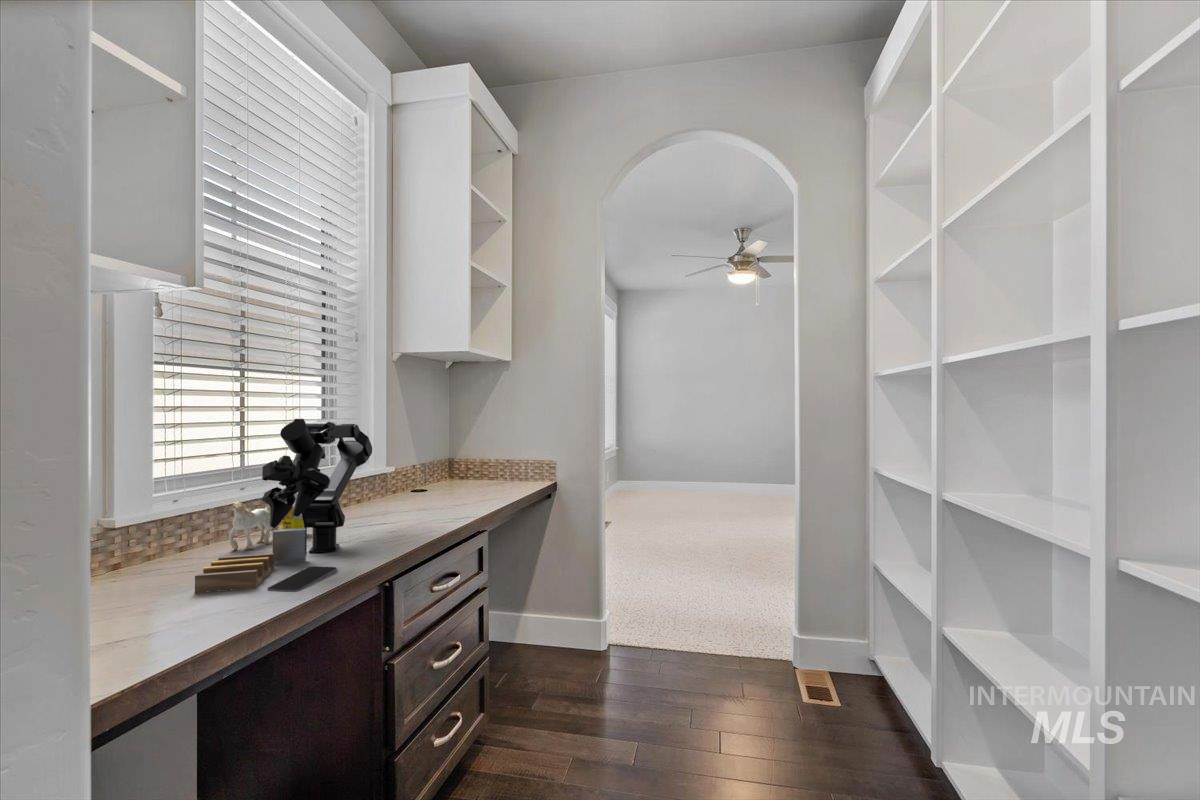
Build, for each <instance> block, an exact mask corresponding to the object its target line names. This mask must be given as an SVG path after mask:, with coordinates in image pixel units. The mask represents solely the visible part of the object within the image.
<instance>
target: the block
mask: <svg viewBox="0 0 1200 800" xmlns="http://www.w3.org/2000/svg"><path fill="white" fill-rule="evenodd" d="M307 532H308V528H302V529H284V530H281V529H278V530H274V531H273V532H272V553H274V566H279V565H292V564H295V565H296V564H305V563H306V562H307V561H308V560H307V551H308V550H307V548H308V547H307V544H308V543H307V541H308V540H307V535H308V534H307Z"/></svg>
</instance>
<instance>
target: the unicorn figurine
mask: <svg viewBox="0 0 1200 800" xmlns="http://www.w3.org/2000/svg"><path fill="white" fill-rule="evenodd" d="M246 505H247V504H244V502H243V501H242V502H240V501H235V502H233V504H232V511H234V518H233V520H232V526H233V527H232V529H231V531H230V533H229V535H228V539H229V542H230V544H229V545H230V546H231V549H232V550H233V551H236V550H238V549H239V545H238V541H237V540H236V539H234V536H235V534H236V533H237V532H238V531H239V530H243V531H244V533H245V539H246V540H247V541H246V543H247V544H246V546H245V548H244V551H249V550H251V548H252V547H253V541H252V540H251V535H250V532H249V529H252V528H255V527H258V528H259V530H260V537H259V538H258V539H257V541H256V544H262V543H264V545H265V546H267V545H268V544H269V542H270V540H269V539H270V537H271V536H270V533H271V532H272V533H273V531H274V530H279V529H280V527H279V525H277V527H276V528H273V527H271V526H270V521H271V509H270V506H266V507H264V508H256V509H254V510H252V511H250V510H249V509H248V508H247V507H246ZM265 528H266V531H265Z"/></svg>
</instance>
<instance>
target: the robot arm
mask: <svg viewBox="0 0 1200 800" xmlns="http://www.w3.org/2000/svg"><path fill="white" fill-rule="evenodd" d="M280 436H281V437H280V438H282V440H283V442H284V443H285V445H286V446H287V447H288V449H289V450H290V451H291V452H292V453H294V454H295V456H294V459H293V460H292V458H291V456H290V455H282V456H281V457H279V459H278V460H277V459H275V460H273V461H270V462H268V463H266V464H264V465H263V466H262V469H261V470H262V472H261V476H262V477H261V478H262V481H264V482H265V481H266V482H267V481H275V482H279V483H278V485H279V486H282V487H284V486H285V487H284V488H281V487H278V486H276V487H273V488H270V489H269V490H267V491H266V492H264V494H263V497H262V498H261V500H262V501H263V502H264V503H265V504H267V505H268V507H270V509H271V521H270V526H271V527H273V528H276V527H277V526H279V524H281V521H282V520H283V518H284V517H285V516H286V515H287V514H288V512H289V511H290V510H291V509H292V508H293V506H292V505H293V504H294V503H295V500H296V503H295V508H294V513H293V515H294V516H296V517H298V516H299V515H300V514H301V513H302V518H303V523H304V528H307V529H308V528H312V534H311V535H312V536H311V537H312V544H311V545H312V546H311V548H310V549H309V550H308V553H309V554H313V553H327V552H328V553H329V552H336V551H337V550H338V549H339V547H340V543H337V528H340V527H344V525H345V522H346V515H345V514H344V511H343V510H342V507H341V504H340V499H341V496H342V495H343V492H344V491H345V489H346V487H347V485H348V484H349V482H350V480H351V479H352V476H353V475H354V472H355V471H356V469H357V468H358V467H360V466H363V465H364V464H366V462H367V461H368V460H369V459H370V457H371V456H372V454H373V446H372V443H371V440H370V438H369V436H368V435H366V434H365V433H364V432H363V431H361V429H360V427H359V425H358V424H356V423H341V424H335V423H334V422H331V421H305V419H304V418H294V420H293V421H292V422H289V423H288V424H286V425H285V426H283V428H281V430H280ZM345 438H346V439H347V438H348V439H349V438H352V439H354V440H344V439H345ZM336 439H338V442H337V445H336V447H337V449H338V453H339V456H340V460H339V461H338V463H337V464H336V466H335V468H334V469H333V471H332V473H331V474H330V476H329V475H327V474H325V473H322V472H321V469H320V468H319V466H320V463H321V460H323V459H324V460H325V459H326V453H325V452H324V451H325V450H324V448H323V446H322V445H330V444H332V443H334V442H335V441H336ZM296 493H298V495H297V499H296V498H295V496H294V494H296Z"/></svg>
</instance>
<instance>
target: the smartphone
mask: <svg viewBox="0 0 1200 800" xmlns="http://www.w3.org/2000/svg"><path fill="white" fill-rule="evenodd" d="M337 568H338V567H335V566H318V565H317V566H315V565H314V566H308V567H305V568H303V569H301V570H300V571H297V572H295V573H294V574H292V575H290V576H288V577H286V578H284V579H283V580H280V581H278V582H276V583H275V584H272V585H271V586H268V587H267V592H283V593H285V592H287V593H297V592H300V591H302V590H304V589H307V588H308V587H310V586H312V585H314V584H316V583H318V582H320V581H322V580H324V579H326V578H328V577H329V575H330V576H331V575H333V574H335V573H337V572H338V569H337ZM334 572H335V573H334ZM327 576H328V577H327Z"/></svg>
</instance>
